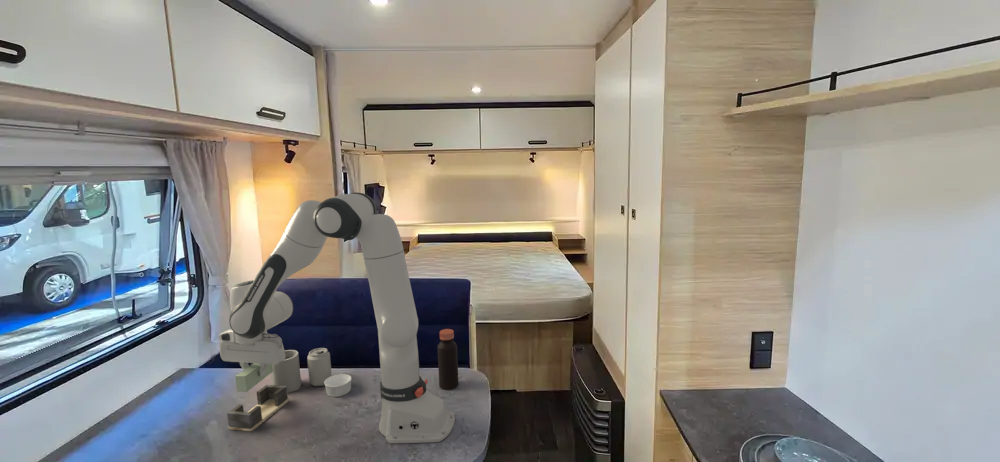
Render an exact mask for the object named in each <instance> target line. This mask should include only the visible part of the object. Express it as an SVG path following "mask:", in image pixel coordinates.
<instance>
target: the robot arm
mask: <svg viewBox="0 0 1000 462" xmlns="http://www.w3.org/2000/svg"><path fill="white" fill-rule="evenodd" d="M377 211H378V210H377V205H376V202H375V201H374V199H373V198H372V197H371V196H369V195H368V194H366V193H362V192H351V193H344V194H338V195H336V196H333V197H330V198H327V199H325V200H323V201H318V200H315V199H314V200H305V201H303V202H301V203H300V204H299V206H298V207H297V208H296V210H295V211H294V213H293V214H292V215H291V218H289V221H288V223H287V224H286V227H285V229H284V231H283V233H282V235H281V237H280V239H279V241H278V242H277V244H276V245H275V248H274V249H273V250H272V252H271V253H270V255H269V256H268V257H267V259H266V260H265V262H263V265H261V267H260V269H259V270H258V272H257V274H256V275H255V277H254V279H252V280H246V281H244V282H240V283H237V284H235V285H234V286H232V287H231V289H230V294H229V304H230V314H229V319H228V320H229V321H228V322H229V326H230V328H229V329H227V330H225V331H223V332H221V333H220V334H218V340H219V341H220V342H219V354H220V358H221V360H222V361H223V362H230V363H239V366H240V367H241V369H242V371H243V370H245V369H246V368H248V367H249V366H250V365H249V364H253V363H258V364H259V366H261V368H260V370H258V371H257V373H258V376H264V375H265V374H266V371H265V369H266V367H267V365H268V364H272V365H278V364H279V363H281V362H282V361H283V360H284V359H285V347H284V344H283V339H282V337H280V336H279V335H278V334H277V333H268V330H270V329H272V328H274V327H277V325H279V324H281V323H283V322H285V321H286V320H288V319H289V318H291V316H292V315H293V312H294V303H293V299H292V298H291V297H290V296H289V295H288V294H287V293H285V292H283V291H277V290H278V288H279V287H280V286H281V284H282V283H283V282H285V281H286V280H287V279H288V278H290V277H291V276H292V275H294V274H296V273H298V272H299V271H301V270H303V269H305V268H306V267H308V266H311V264H312V263H314V262H315V260H317V257H318V256H319V255H320V253H321V252H322V249H323V247H324V245H325V243H326V241H327V238H331V239H342V240H347V241H353V240H354V239H357V240H358V242H359V244H360V247H361V251H362V256H363V261H364V267H365V269H366V270H365V271H366V275H367V280H368V284H369V290H370V294H371V301H372V305H373V311H374V317H375V321H376V327H377V336H378V337H377V338H378V349H379V350H378V351H379V364H380V379H381V380H380V382H379V384H380V385H379V390H380V392H379V393H380V398H381V414H380V419H379V420H380V421H379V425H378V430H379V432H380V433H381V435H383V436H384V437H385V440H386V442H387V443H388V444H411V443H413V444H415V443H417V444H418V443H420V444H421V443H439V442H442V441H443V440H445V438H447V437H448V436H449V435H450V433H452V430H453V429H454V426H455V422H456V418H455V413H454V412H453V411H451V410H447V405H446V402H445V400H444V399H443V398H442V397H440V396H438V395H437V394H435V393H434V392H432V390H430V389H428V388H427V384H428V382H429V381H428V378H425V380H423V379H422V376H421V374H420V361H419V349H418V339H417V335H418V330H419V317H418V314H417V309H416V304H415V300H414V295H413V291H412V290H413V289H412V285H411V281H410V275H409V271H408V270H409V269H408V266H407V260H406V255H405V251H404V245H403V241H402V238H401V235H400V232H399V228H398V226H397V224H396V222H395V221H396V220H394V218H393V217H392V216H390V215H389V214H384V213H383V214H382V213H377Z"/></svg>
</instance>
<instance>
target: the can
mask: <svg viewBox="0 0 1000 462" xmlns="http://www.w3.org/2000/svg"><path fill="white" fill-rule="evenodd" d="M306 359H307V360H306V361H307V369H308V379H309V380H308V381H309V384H310V385H312V386H314V387H323V386H325V384H324V381H325V380H326V379H327V378H329V377H331V376H333V375H332V364H331V363H332V362H331V353H330V352H329V351H328V348H325V347H319V348H318V347H317V348H314V349H312V350H310V351H309V352H308V355H307V358H306Z"/></svg>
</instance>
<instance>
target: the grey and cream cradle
mask: <svg viewBox="0 0 1000 462" xmlns="http://www.w3.org/2000/svg"><path fill="white" fill-rule="evenodd" d="M288 394H289V393H287V386H277V385H272V384H265V385H264V386H263V387H262V388H260V389H259V390H257V391H256V398H257V399H256V400H257V404H255V406H253V407H252V408H251V409H249V410H248V411H247V412H246V411H244V405H243V404H241V403H240V404H238V405H237V406H234V408H232V409H230V411H228V412H227V415H226V416H227V423H228V426H227V429H228V430H234V431H241V430H242V431H243V432H251V431H252V432H253V431H254V430H255V429H256V428H258V427H259V426H260V425H261V424H263V423H264V422H265V421H267V420H268V419H269V418H270V417H271V416H273V413H274V414H275V413H276V412H277V411H278V410H280V409H281V408H282V407H283V406H284V405H286V404H287V403H288V402H289V401H290V399H289V396H288ZM262 422H263V423H262Z"/></svg>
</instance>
